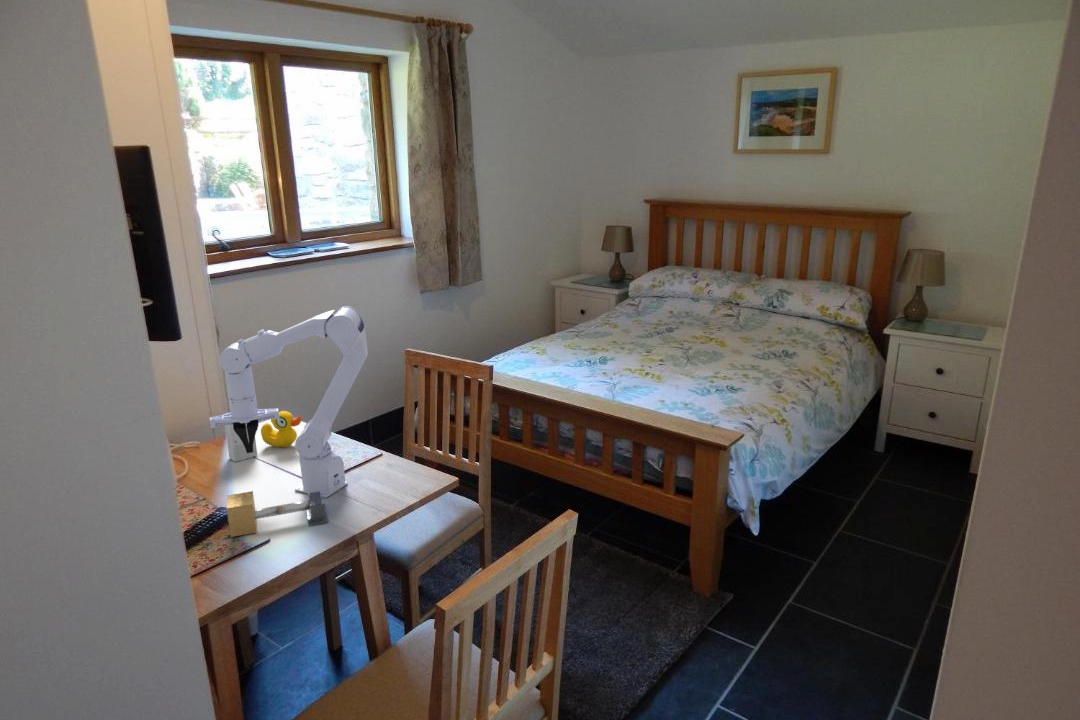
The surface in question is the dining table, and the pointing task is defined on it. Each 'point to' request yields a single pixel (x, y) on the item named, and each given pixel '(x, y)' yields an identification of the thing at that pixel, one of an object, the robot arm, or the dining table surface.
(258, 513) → the shaft outer
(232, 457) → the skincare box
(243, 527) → the block
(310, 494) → the pillow block
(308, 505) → the shaft inner
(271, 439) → the duckling
